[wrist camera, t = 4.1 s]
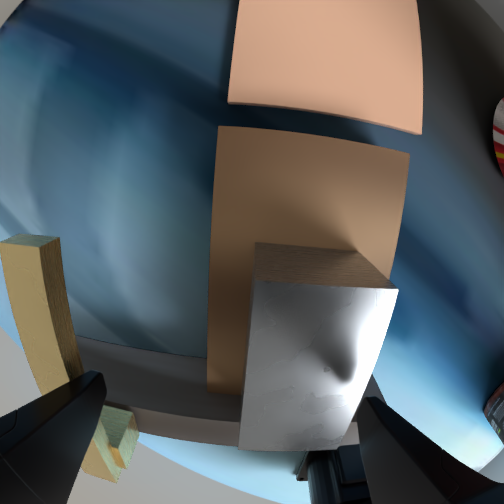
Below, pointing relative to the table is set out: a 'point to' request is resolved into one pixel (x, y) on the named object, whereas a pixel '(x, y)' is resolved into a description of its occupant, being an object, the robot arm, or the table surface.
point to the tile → (331, 59)
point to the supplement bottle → (496, 411)
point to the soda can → (499, 133)
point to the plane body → (241, 265)
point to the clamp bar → (59, 343)
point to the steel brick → (309, 345)
